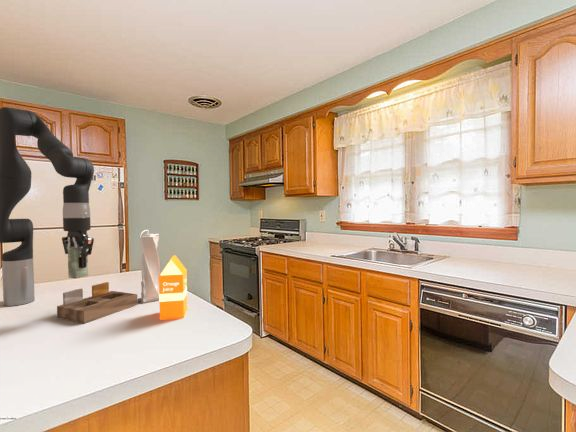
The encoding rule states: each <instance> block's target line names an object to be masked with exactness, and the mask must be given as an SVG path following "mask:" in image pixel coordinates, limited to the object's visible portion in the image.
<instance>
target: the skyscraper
mask: <svg viewBox="0 0 576 432" xmlns="http://www.w3.org/2000/svg"><path fill="white" fill-rule="evenodd" d="M145 232H147V233H146V234H145V235H144V236H142V234H143V233H145ZM139 240H140V244H141V249H142V255H141V282H140V283H141V293H140V297H139V298H138V297H137V300H138V301H139V303H141V305H142V304H143V305H144V304H148V303H153V302H154V303H155V302H159V292H158V291H159V275H160V274H161V265H160V264H161V262H160V256H159V252H158V246H159V241H160V234H159V233H150V232H149V229H144V230H143V231H141V232H140V235H139Z"/></svg>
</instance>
